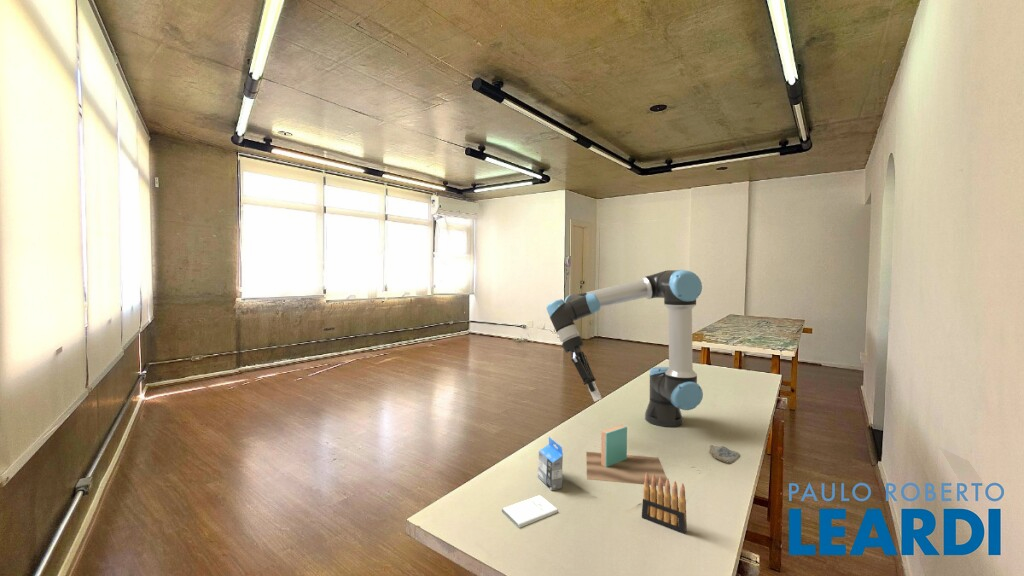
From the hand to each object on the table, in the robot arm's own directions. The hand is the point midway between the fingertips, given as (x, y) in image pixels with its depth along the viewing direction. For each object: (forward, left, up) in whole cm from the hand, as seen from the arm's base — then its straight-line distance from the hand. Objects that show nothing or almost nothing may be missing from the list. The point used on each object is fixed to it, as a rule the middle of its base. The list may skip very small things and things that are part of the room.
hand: (598, 400), depth 142 cm
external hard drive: (+40, -19, -19) cm, 49 cm away
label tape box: (+24, -15, -19) cm, 34 cm away
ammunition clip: (+39, +15, -19) cm, 46 cm away
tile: (+9, +5, -17) cm, 20 cm away
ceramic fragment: (-5, +42, -19) cm, 47 cm away
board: (+13, +8, -18) cm, 24 cm away
